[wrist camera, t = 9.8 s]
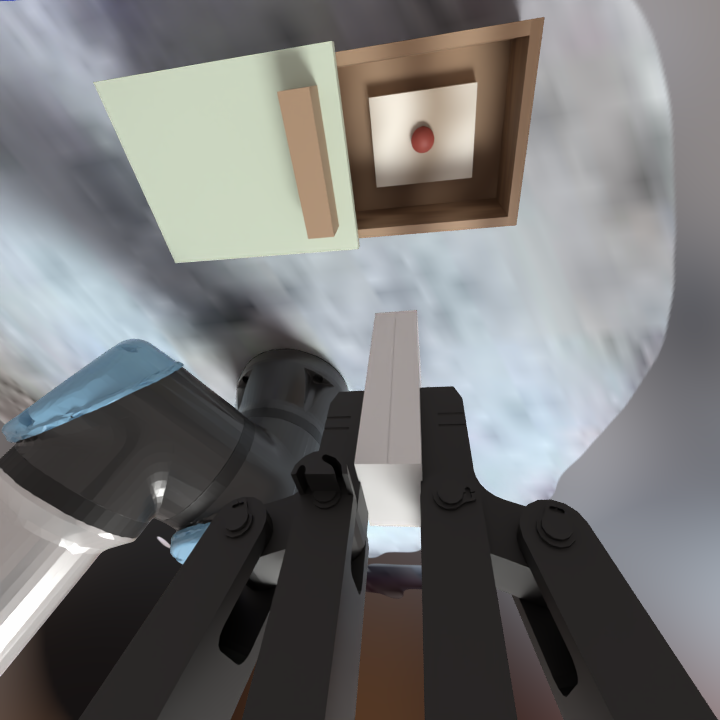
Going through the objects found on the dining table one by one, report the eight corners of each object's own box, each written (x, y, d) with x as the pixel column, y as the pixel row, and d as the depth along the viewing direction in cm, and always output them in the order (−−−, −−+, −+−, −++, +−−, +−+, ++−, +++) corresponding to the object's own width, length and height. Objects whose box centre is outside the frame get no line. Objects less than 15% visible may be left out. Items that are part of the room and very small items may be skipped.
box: (330, 218, 36) (317, 241, 31) (303, 61, 29) (282, 61, 24) (501, 202, 33) (516, 225, 29) (520, 25, 26) (544, 16, 21)
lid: (179, 259, 33) (161, 274, 31) (100, 81, 26) (67, 83, 23) (359, 245, 31) (354, 261, 28) (333, 41, 23) (324, 38, 20)
